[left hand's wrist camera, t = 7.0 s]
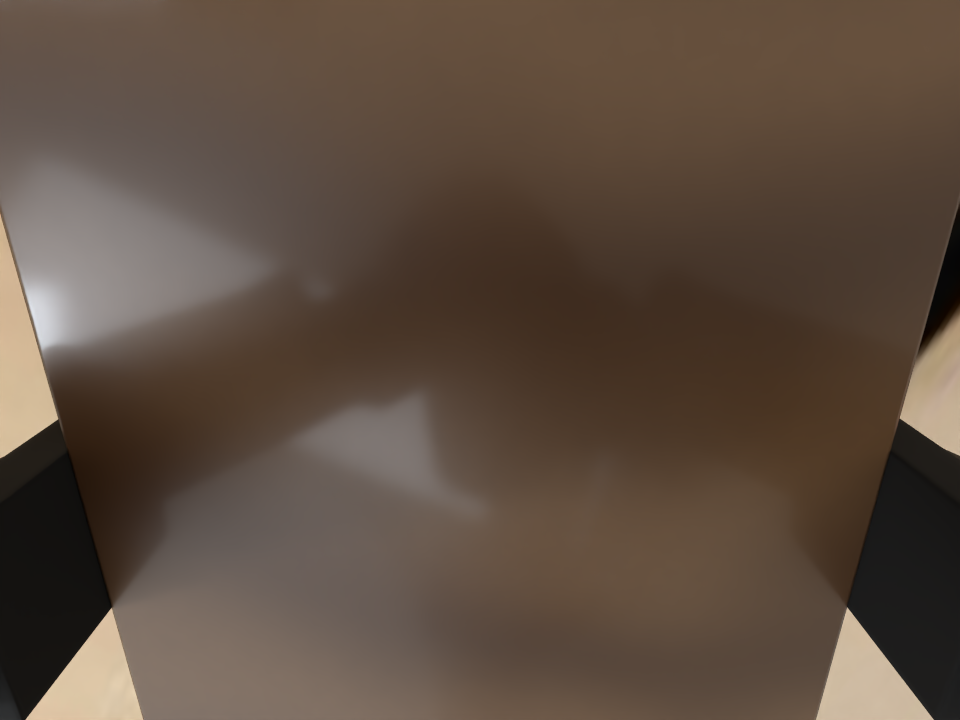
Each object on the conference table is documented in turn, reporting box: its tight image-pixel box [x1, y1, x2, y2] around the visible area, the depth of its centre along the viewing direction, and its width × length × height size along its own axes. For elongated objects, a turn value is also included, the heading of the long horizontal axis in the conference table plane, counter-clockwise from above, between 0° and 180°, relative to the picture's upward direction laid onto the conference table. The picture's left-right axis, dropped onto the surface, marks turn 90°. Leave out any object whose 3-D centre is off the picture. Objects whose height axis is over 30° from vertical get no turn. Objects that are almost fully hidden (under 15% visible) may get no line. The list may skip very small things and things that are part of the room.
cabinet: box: [0, 0, 960, 720], centre depth 11 cm, size 19×11×10 cm, turn 0°
